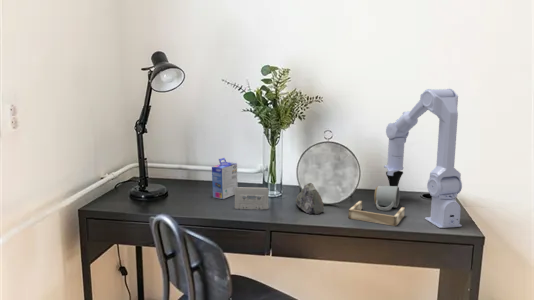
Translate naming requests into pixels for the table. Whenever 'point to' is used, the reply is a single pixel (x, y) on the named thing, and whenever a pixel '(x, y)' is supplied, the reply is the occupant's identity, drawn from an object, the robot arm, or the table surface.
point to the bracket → (375, 215)
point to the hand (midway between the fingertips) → (393, 190)
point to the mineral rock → (310, 200)
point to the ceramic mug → (386, 197)
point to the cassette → (251, 203)
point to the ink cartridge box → (224, 179)
